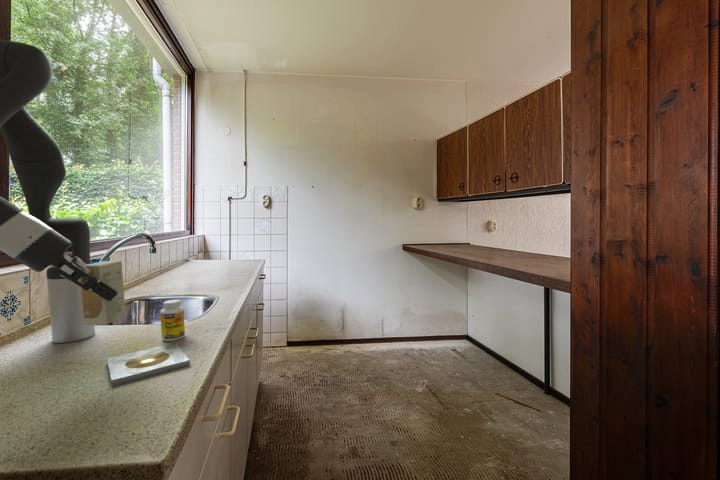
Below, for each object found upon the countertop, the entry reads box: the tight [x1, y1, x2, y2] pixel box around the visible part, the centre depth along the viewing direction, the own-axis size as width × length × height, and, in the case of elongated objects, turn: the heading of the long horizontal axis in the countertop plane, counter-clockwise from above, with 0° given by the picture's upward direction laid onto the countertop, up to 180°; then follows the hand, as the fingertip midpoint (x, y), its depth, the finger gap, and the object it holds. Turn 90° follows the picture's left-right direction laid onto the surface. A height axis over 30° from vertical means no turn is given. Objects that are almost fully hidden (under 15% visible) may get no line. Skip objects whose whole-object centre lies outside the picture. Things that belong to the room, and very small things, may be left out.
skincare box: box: [81, 260, 127, 326], centre depth 70 cm, size 6×4×12 cm
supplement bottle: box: [160, 299, 186, 342], centre depth 92 cm, size 6×6×10 cm
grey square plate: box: [106, 342, 191, 387], centre depth 76 cm, size 14×14×1 cm
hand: (112, 293), depth 71 cm, fingers closed on skincare box, 7 cm apart
